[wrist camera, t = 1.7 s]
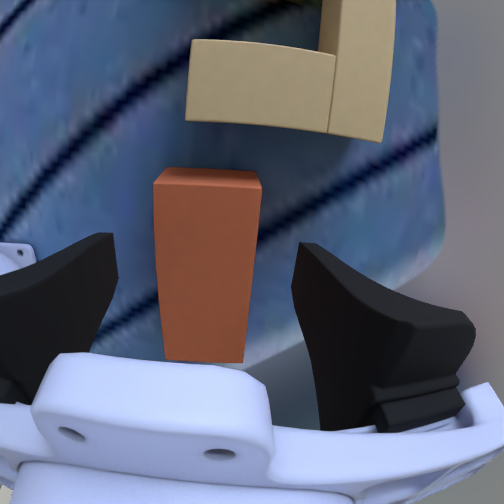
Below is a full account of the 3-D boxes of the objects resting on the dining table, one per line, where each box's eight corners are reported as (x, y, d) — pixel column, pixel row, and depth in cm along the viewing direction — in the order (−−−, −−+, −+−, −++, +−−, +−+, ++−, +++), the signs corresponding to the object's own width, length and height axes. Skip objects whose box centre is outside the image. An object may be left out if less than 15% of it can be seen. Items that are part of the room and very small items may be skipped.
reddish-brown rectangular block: (240, 328, 19) (242, 363, 17) (171, 325, 19) (165, 359, 16) (256, 171, 15) (262, 188, 12) (166, 166, 14) (152, 182, 12)
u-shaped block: (193, 116, 13) (184, 121, 11) (219, -85, 8) (218, -113, 5) (355, 134, 14) (382, 143, 12) (370, -58, 9) (394, -77, 6)
